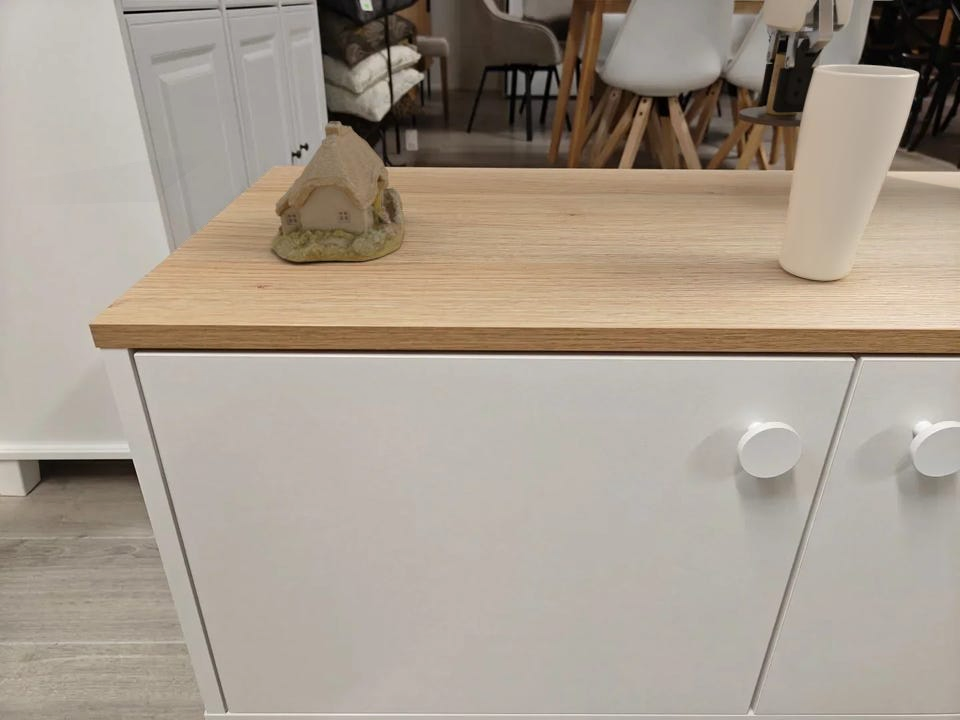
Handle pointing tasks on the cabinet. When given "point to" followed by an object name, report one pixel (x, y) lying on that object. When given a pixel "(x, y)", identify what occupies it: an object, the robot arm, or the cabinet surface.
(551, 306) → the cabinet surface
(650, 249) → the cabinet surface
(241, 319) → the cabinet surface
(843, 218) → the drinking glass
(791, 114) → the lid
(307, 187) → the ceramic model
